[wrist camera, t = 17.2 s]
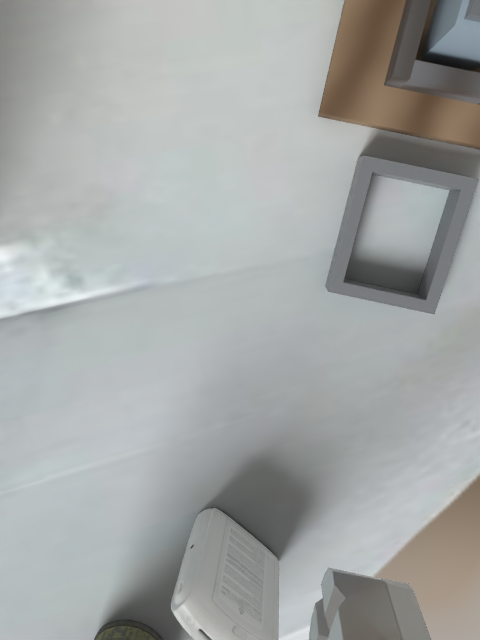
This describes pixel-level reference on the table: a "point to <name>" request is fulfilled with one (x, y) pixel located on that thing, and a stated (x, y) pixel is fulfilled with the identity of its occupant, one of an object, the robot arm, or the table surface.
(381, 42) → the dock
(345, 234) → the grey rectangular frame
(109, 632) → the thermos
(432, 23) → the plug
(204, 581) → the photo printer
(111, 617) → the table surface
